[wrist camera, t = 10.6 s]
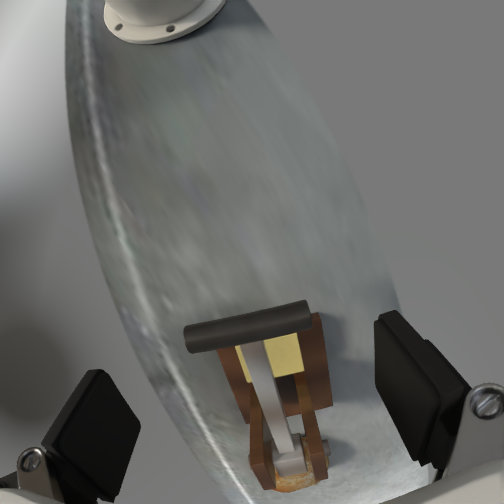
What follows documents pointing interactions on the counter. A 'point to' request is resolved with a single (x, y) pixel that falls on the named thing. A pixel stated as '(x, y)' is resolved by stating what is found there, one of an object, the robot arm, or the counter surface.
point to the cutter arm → (260, 367)
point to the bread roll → (298, 475)
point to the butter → (279, 356)
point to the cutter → (286, 403)
